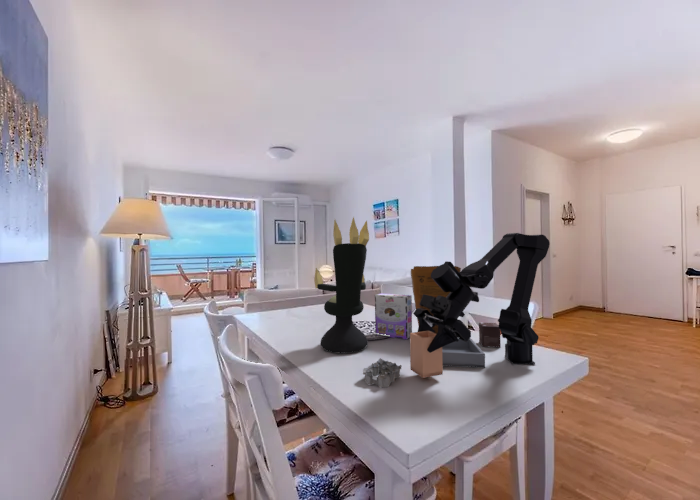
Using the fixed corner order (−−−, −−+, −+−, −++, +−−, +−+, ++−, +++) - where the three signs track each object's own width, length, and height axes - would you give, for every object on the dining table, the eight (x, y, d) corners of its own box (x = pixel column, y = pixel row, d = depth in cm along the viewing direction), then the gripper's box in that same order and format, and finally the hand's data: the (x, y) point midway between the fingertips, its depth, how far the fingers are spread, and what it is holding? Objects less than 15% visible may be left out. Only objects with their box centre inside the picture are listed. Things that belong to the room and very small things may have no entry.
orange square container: (429, 366, 87) (428, 330, 87) (442, 374, 82) (442, 336, 82) (410, 369, 85) (410, 332, 85) (422, 377, 79) (422, 338, 79)
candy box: (412, 336, 123) (412, 294, 123) (407, 340, 118) (406, 296, 118) (381, 332, 130) (380, 292, 130) (374, 335, 125) (374, 294, 125)
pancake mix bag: (459, 343, 114) (458, 266, 114) (410, 335, 125) (409, 265, 125) (463, 338, 119) (463, 265, 119) (416, 331, 130) (416, 264, 130)
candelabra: (361, 337, 122) (360, 222, 122) (385, 355, 101) (384, 216, 101) (313, 342, 116) (312, 221, 116) (328, 362, 95) (327, 214, 95)
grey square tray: (471, 350, 106) (471, 338, 106) (485, 367, 90) (484, 353, 90) (422, 348, 108) (422, 336, 108) (428, 365, 92) (428, 351, 92)
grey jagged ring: (385, 390, 76) (385, 374, 76) (359, 383, 81) (359, 367, 81) (404, 375, 85) (404, 360, 85) (380, 370, 89) (380, 355, 89)
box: (500, 348, 108) (500, 326, 108) (482, 347, 109) (482, 326, 109) (496, 342, 114) (496, 322, 114) (478, 342, 115) (478, 322, 115)
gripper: (418, 280, 93) (385, 321, 90) (461, 287, 76) (422, 337, 72) (440, 305, 96) (410, 345, 92) (486, 317, 79) (451, 367, 75)
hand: (421, 347), depth 83 cm, fingers closed on orange square container, 6 cm apart
